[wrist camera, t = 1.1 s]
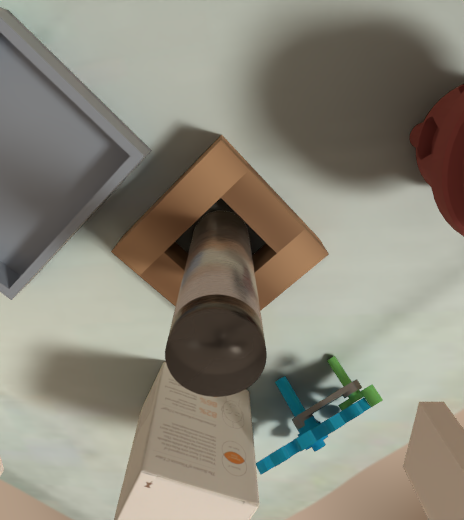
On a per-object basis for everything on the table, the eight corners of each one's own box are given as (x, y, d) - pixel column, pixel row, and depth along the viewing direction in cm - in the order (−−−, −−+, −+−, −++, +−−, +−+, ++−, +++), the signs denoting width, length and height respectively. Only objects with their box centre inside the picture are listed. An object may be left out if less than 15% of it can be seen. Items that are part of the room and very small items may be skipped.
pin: (221, 198, 27) (215, 293, 15) (260, 237, 29) (287, 357, 16) (181, 236, 29) (144, 356, 16) (220, 272, 30) (216, 412, 17)
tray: (8, 10, 23) (-16, 1, 21) (151, 150, 26) (144, 156, 24) (-110, 179, 27) (-142, 187, 24) (28, 283, 30) (11, 300, 28)
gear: (277, 471, 36) (250, 494, 27) (245, 409, 38) (210, 411, 29) (384, 406, 35) (392, 408, 26) (344, 348, 37) (339, 331, 28)
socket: (221, 134, 26) (221, 139, 23) (319, 238, 29) (328, 254, 26) (122, 236, 28) (111, 251, 26) (220, 321, 31) (220, 344, 29)
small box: (141, 406, 35) (107, 529, 25) (163, 358, 33) (137, 471, 23) (224, 434, 36) (224, 560, 26) (251, 389, 34) (261, 508, 24)
